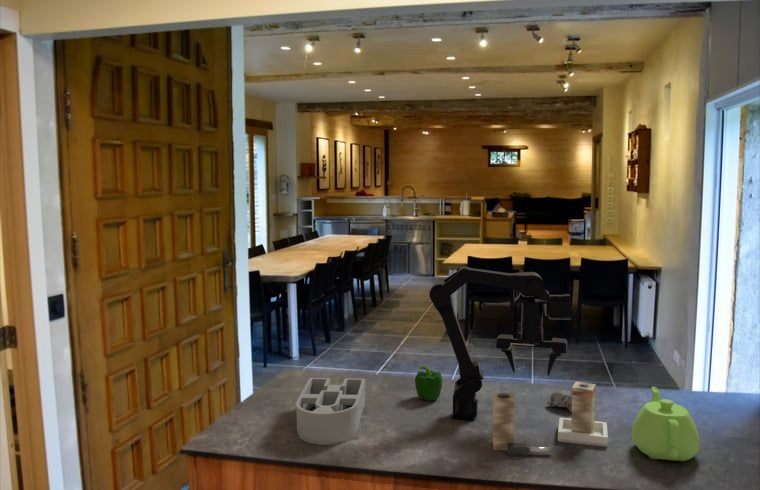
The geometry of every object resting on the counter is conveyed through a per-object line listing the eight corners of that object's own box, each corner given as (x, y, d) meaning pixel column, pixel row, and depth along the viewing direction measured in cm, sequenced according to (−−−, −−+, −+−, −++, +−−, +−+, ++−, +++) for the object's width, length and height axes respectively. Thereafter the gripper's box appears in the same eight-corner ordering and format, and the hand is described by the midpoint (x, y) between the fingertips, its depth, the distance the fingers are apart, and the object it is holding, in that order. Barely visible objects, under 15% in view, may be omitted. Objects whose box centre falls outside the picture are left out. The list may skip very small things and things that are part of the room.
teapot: (622, 430, 168) (624, 383, 167) (683, 434, 166) (685, 386, 164) (640, 468, 147) (642, 414, 145) (710, 473, 144) (713, 418, 143)
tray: (557, 441, 162) (558, 431, 162) (559, 426, 172) (559, 417, 171) (607, 446, 158) (607, 437, 158) (606, 431, 168) (606, 422, 168)
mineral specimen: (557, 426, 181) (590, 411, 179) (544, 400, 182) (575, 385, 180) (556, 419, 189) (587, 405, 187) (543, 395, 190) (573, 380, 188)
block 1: (493, 449, 157) (493, 399, 156) (492, 441, 162) (493, 392, 161) (513, 450, 157) (514, 400, 155) (512, 442, 162) (513, 393, 160)
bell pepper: (448, 397, 194) (448, 365, 193) (432, 405, 188) (432, 372, 187) (426, 391, 200) (426, 360, 199) (410, 398, 194) (409, 367, 193)
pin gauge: (508, 455, 154) (508, 447, 154) (507, 451, 156) (507, 443, 156) (552, 456, 153) (552, 447, 153) (550, 452, 156) (550, 443, 155)
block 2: (570, 435, 164) (572, 387, 162) (574, 428, 168) (575, 381, 167) (591, 439, 161) (592, 390, 160) (594, 432, 166) (595, 384, 164)
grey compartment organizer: (365, 406, 188) (365, 378, 187) (355, 447, 160) (354, 414, 160) (310, 405, 189) (309, 377, 188) (290, 445, 162) (289, 413, 161)
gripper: (568, 314, 178) (567, 368, 180) (501, 310, 184) (501, 362, 186) (567, 323, 168) (565, 380, 170) (496, 319, 174) (495, 374, 175)
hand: (531, 373), depth 175 cm, fingers open, 9 cm apart
